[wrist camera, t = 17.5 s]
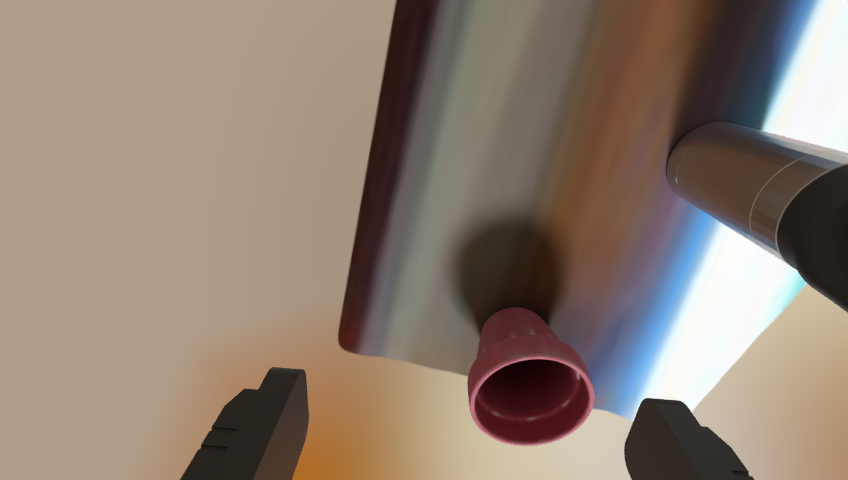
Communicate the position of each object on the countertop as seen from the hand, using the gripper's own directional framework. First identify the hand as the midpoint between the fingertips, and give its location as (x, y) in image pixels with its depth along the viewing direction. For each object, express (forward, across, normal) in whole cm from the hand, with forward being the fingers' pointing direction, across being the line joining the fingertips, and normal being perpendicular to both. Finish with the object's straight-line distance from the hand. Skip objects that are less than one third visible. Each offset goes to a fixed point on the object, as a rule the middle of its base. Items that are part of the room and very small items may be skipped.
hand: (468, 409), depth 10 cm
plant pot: (+40, -12, +28) cm, 51 cm away
